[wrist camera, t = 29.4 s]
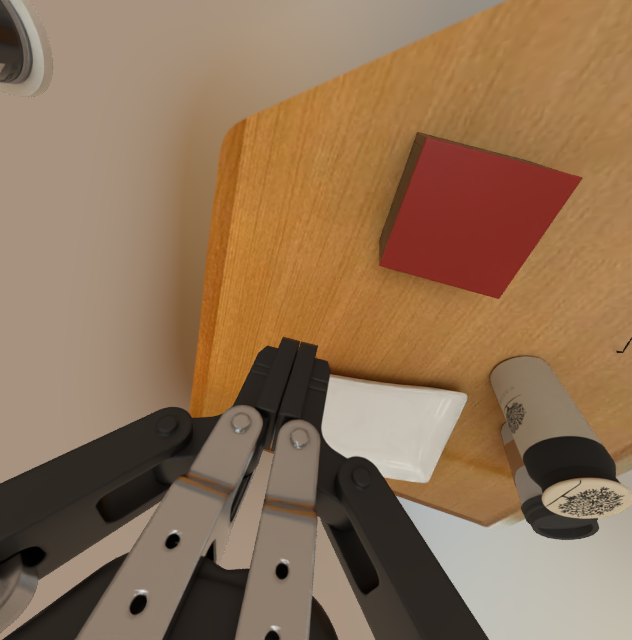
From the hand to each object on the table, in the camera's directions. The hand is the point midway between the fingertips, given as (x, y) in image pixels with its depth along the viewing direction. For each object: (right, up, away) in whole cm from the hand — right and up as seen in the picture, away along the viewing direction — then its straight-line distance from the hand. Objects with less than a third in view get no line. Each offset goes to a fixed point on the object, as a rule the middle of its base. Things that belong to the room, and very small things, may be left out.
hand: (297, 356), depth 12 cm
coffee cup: (+36, -17, +38) cm, 55 cm away
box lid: (+15, +10, +15) cm, 23 cm away
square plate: (+11, -17, +44) cm, 49 cm away
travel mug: (+31, -7, +32) cm, 45 cm away
